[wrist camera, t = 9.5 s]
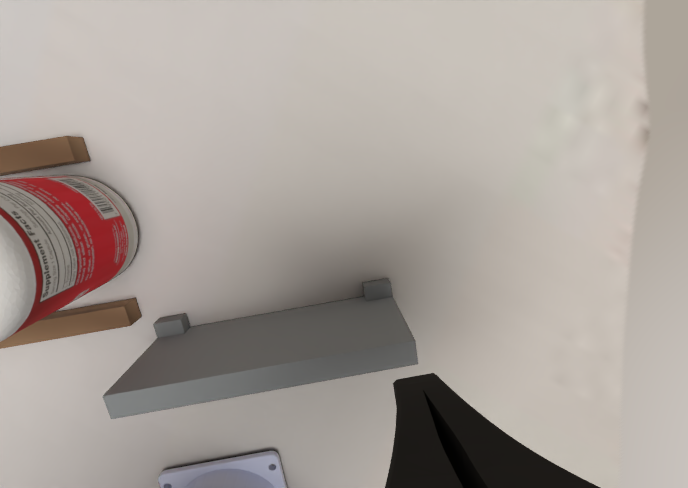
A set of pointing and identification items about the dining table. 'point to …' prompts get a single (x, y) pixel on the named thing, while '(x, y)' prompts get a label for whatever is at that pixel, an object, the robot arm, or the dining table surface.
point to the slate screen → (265, 352)
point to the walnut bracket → (73, 319)
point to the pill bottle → (58, 244)
